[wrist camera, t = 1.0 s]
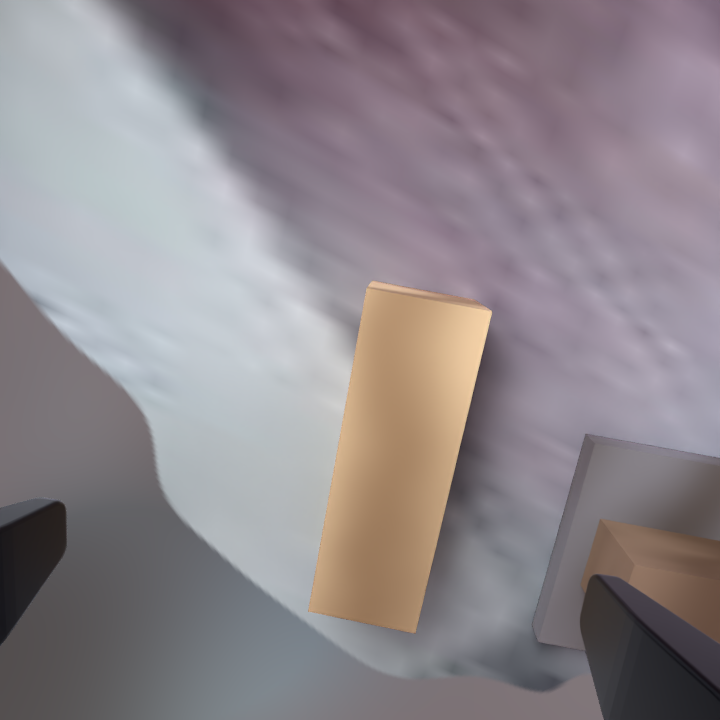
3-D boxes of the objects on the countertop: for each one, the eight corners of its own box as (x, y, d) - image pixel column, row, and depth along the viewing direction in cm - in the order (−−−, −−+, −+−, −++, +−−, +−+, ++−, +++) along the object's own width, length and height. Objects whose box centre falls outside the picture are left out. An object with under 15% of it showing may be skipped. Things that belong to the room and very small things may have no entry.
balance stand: (814, 475, 20) (913, 529, 16) (739, 665, 22) (811, 754, 18) (585, 433, 20) (629, 477, 17) (531, 624, 23) (559, 703, 19)
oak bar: (473, 299, 20) (492, 311, 16) (412, 567, 23) (415, 633, 19) (372, 280, 20) (366, 288, 16) (323, 549, 23) (308, 611, 19)
